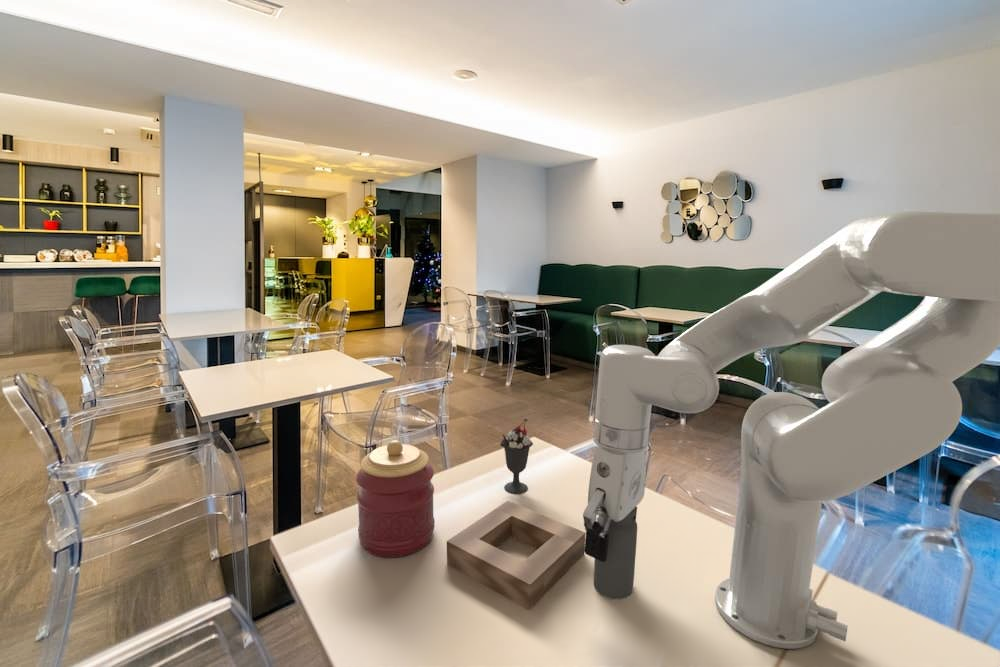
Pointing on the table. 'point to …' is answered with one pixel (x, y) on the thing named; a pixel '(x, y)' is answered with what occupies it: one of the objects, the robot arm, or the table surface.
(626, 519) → the bottle
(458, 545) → the collar block
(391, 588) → the table surface
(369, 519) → the canister
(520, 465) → the sundae
